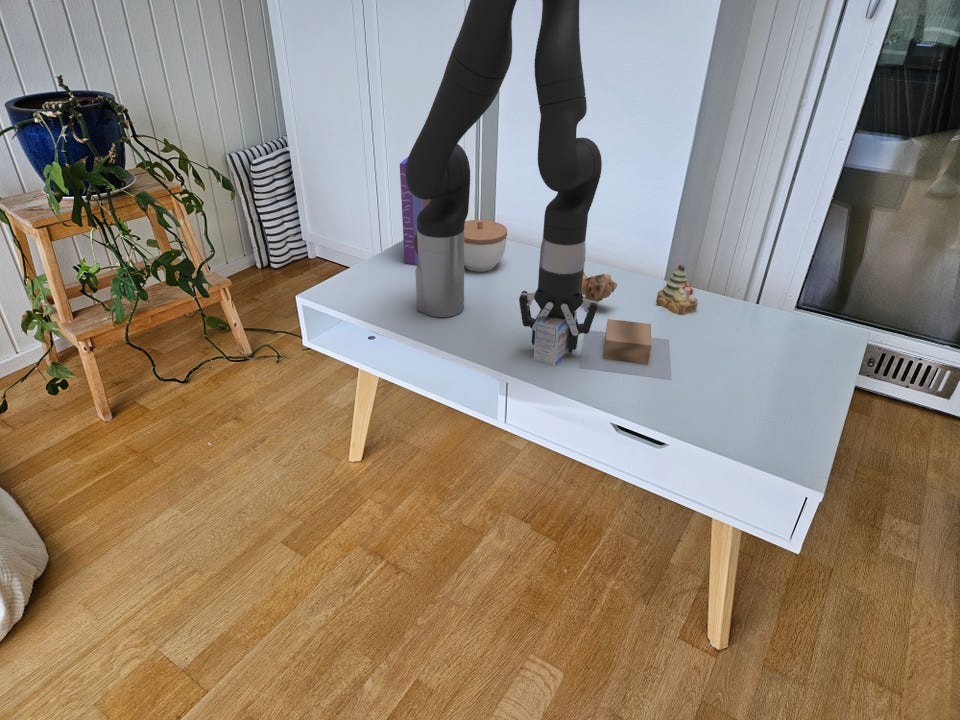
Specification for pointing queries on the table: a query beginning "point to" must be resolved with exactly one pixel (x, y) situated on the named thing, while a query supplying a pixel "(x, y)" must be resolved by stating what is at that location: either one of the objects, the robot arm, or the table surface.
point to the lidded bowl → (483, 244)
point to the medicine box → (551, 340)
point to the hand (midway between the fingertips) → (554, 347)
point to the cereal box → (410, 218)
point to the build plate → (656, 366)
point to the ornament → (677, 294)
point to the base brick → (627, 341)
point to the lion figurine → (597, 286)
